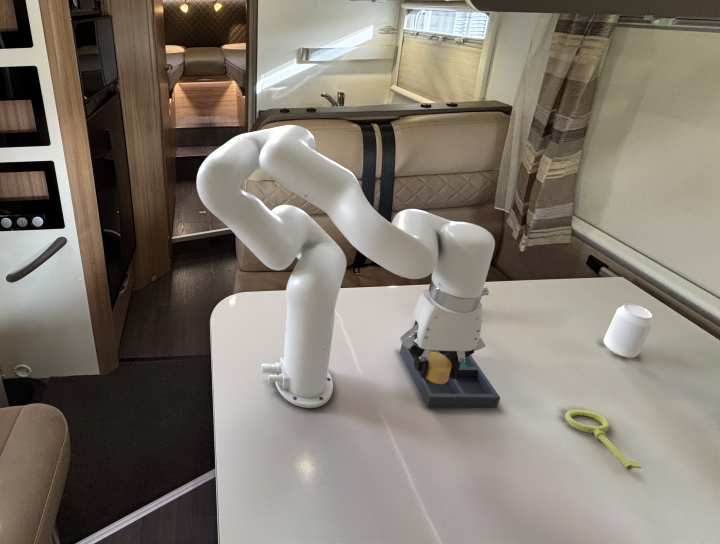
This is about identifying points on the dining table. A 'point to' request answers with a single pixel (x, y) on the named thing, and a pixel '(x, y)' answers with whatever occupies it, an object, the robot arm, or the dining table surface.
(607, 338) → the beverage can
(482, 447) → the dining table surface
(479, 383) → the grid
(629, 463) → the key
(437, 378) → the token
